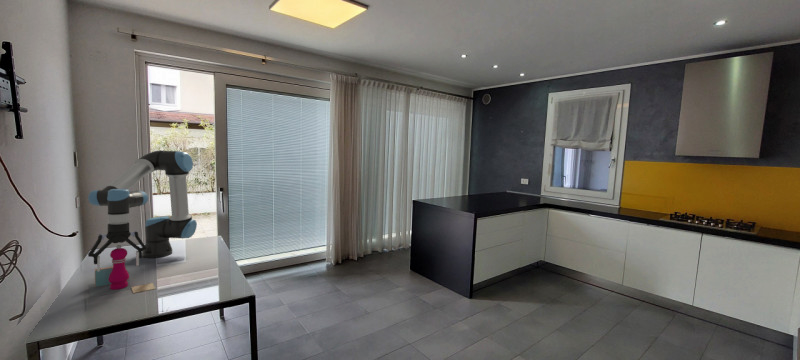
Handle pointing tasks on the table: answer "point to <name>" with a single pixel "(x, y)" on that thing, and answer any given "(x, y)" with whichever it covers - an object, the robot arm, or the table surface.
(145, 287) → the cork pad
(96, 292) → the mat
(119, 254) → the pepper mill
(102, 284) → the tile
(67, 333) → the table surface
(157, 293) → the table surface
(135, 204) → the robot arm
